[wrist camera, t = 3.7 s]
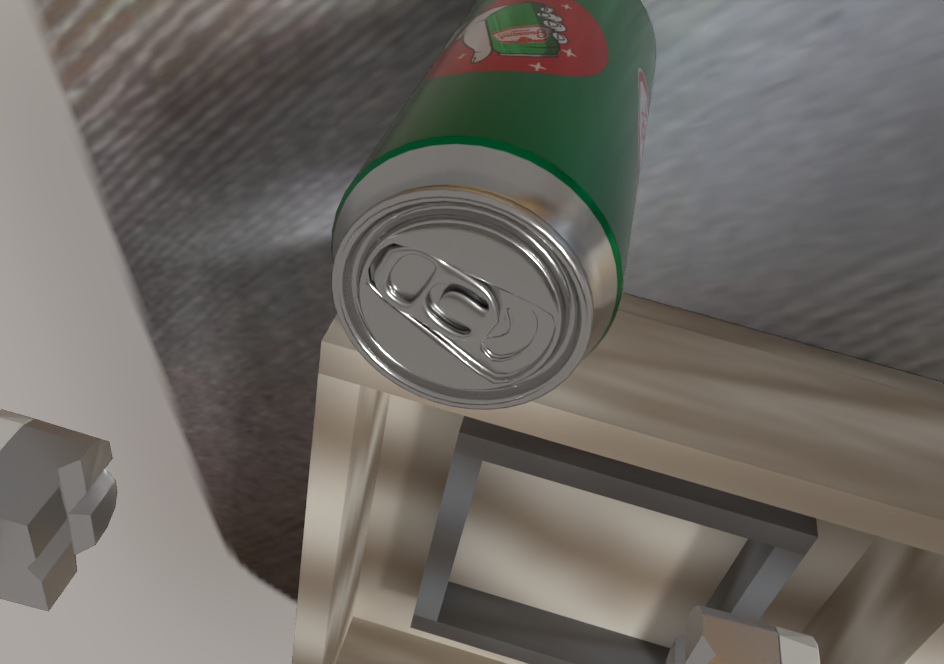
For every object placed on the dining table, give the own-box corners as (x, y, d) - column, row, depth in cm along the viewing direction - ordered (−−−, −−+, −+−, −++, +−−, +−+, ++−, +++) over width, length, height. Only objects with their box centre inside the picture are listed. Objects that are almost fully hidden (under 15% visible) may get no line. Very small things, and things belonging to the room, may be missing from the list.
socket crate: (386, 226, 28) (321, 340, 23) (1007, 400, 27) (1067, 556, 22) (333, 604, 42) (286, 722, 37) (739, 729, 41) (742, 866, 36)
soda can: (583, 169, 25) (508, 469, 16) (435, 71, 24) (264, 327, 15) (698, 24, 22) (685, 292, 13) (532, -95, 21) (391, 101, 12)
